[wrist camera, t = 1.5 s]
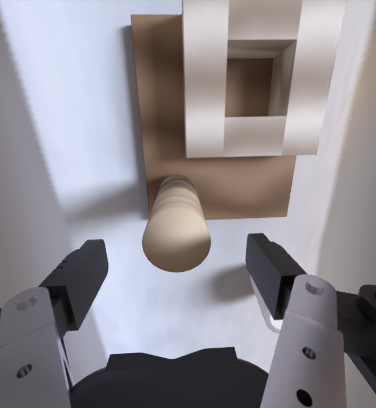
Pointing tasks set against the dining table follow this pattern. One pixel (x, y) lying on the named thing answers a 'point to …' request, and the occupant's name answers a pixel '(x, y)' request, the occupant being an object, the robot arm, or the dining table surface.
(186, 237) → the peg
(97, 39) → the dining table surface
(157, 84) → the socket board
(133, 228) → the dining table surface
